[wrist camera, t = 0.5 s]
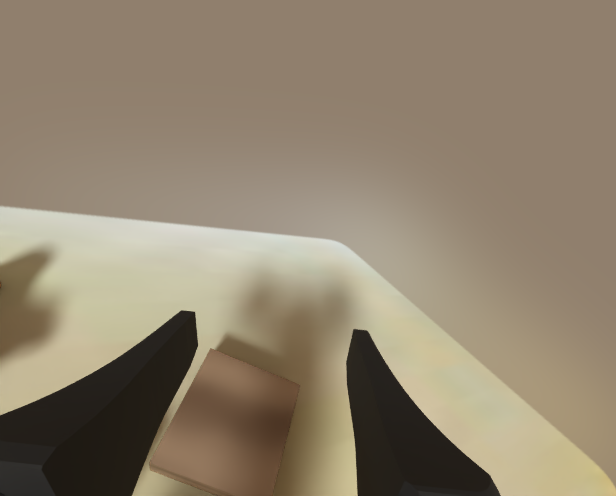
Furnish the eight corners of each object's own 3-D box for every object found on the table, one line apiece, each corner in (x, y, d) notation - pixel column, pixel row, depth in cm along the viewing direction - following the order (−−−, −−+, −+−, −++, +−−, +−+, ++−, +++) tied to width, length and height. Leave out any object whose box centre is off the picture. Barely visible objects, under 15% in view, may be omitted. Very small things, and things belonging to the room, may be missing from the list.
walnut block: (257, 511, 23) (269, 507, 21) (150, 470, 23) (149, 462, 21) (289, 397, 30) (300, 385, 28) (206, 363, 30) (210, 348, 27)
